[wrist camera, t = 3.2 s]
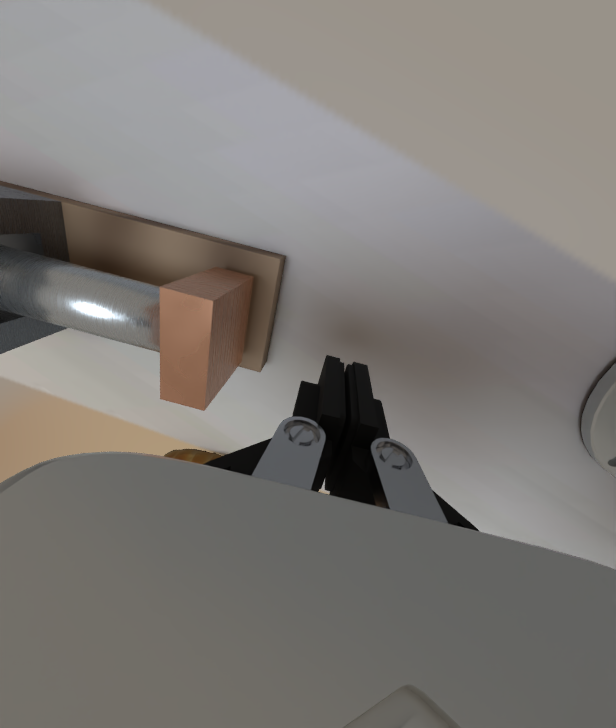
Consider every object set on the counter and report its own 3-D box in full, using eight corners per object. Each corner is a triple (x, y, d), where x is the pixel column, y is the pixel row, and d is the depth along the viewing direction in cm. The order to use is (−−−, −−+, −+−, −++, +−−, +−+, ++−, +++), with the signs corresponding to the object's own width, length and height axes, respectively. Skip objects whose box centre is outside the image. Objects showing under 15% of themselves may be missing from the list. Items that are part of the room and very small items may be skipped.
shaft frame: (285, 256, 17) (233, 286, 9) (266, 361, 20) (215, 449, 12) (-16, 176, 17) (-314, 141, 9) (13, 294, 20) (-191, 339, 12)
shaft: (253, 276, 15) (213, 300, 10) (241, 361, 17) (204, 410, 13) (10, 212, 15) (-133, 209, 11) (30, 305, 17) (-80, 334, 13)
